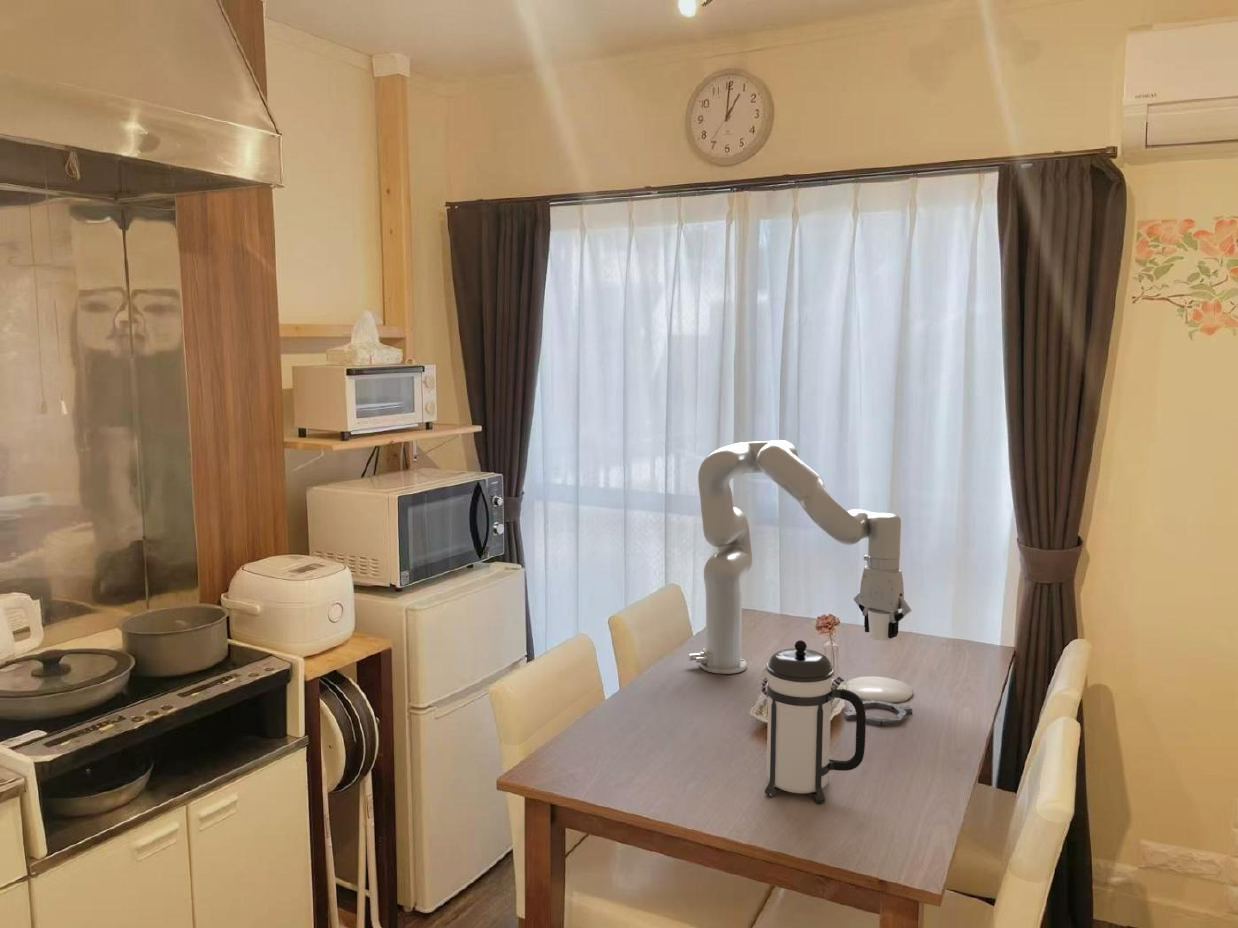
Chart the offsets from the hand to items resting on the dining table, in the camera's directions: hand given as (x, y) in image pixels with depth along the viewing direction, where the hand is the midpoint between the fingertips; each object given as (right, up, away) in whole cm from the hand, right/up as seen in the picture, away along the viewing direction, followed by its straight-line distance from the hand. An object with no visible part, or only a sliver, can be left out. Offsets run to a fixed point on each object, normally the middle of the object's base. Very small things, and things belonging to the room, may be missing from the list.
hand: (880, 633), depth 232 cm
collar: (-4, -17, -13) cm, 22 cm away
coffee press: (-29, -22, -49) cm, 61 cm away
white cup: (0, -1, 0) cm, 1 cm away
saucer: (0, -15, +2) cm, 15 cm away
